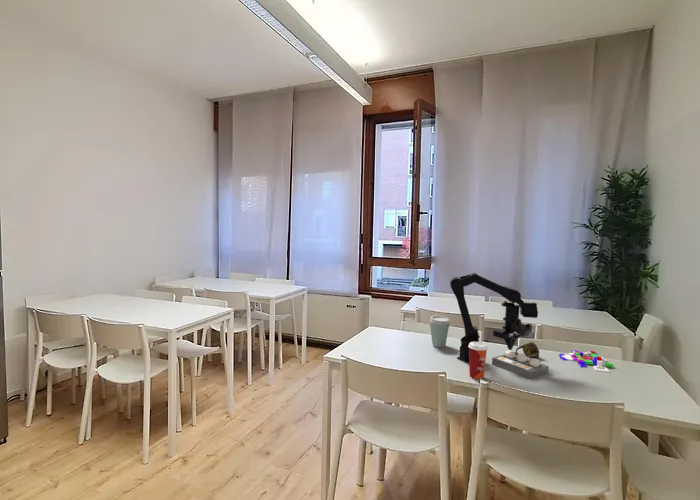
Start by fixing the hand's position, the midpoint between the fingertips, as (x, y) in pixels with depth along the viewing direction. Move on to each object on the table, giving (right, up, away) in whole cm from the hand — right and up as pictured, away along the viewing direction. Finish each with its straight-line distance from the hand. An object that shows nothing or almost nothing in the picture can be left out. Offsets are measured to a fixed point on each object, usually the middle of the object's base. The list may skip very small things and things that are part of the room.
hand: (510, 349), depth 180 cm
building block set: (+37, -7, +6) cm, 39 cm away
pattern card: (-1, -4, -8) cm, 9 cm away
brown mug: (+11, -6, +10) cm, 16 cm away
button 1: (0, -4, 0) cm, 4 cm away
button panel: (+2, -7, -5) cm, 9 cm away
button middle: (+3, -5, -5) cm, 7 cm away
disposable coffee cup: (-27, -4, +24) cm, 37 cm away
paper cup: (-20, -8, -15) cm, 26 cm away
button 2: (+6, -5, -10) cm, 13 cm away
